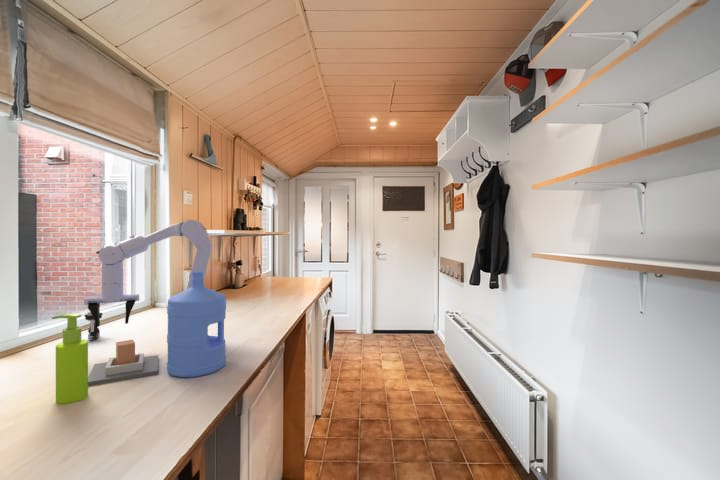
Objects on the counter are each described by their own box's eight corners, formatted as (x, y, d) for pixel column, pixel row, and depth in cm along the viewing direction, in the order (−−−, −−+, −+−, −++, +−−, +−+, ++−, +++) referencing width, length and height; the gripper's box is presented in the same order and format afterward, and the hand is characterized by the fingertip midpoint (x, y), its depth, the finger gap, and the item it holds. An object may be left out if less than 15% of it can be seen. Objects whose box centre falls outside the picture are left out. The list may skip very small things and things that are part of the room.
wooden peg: (132, 363, 100) (132, 339, 100) (134, 367, 97) (134, 342, 97) (116, 366, 98) (116, 342, 98) (117, 370, 95) (117, 345, 95)
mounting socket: (158, 358, 107) (158, 348, 107) (157, 374, 95) (157, 363, 95) (94, 367, 99) (94, 357, 99) (85, 386, 87) (85, 374, 87)
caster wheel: (98, 340, 123) (99, 313, 123) (80, 342, 121) (80, 314, 121) (104, 335, 130) (104, 309, 129) (87, 337, 127) (87, 310, 127)
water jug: (164, 382, 90) (164, 277, 90) (169, 362, 104) (169, 271, 104) (227, 373, 97) (228, 274, 96) (223, 355, 111) (224, 269, 110)
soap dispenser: (64, 392, 84) (63, 311, 83) (93, 391, 84) (93, 311, 84) (44, 404, 78) (43, 317, 78) (76, 403, 78) (76, 317, 78)
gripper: (139, 280, 118) (139, 319, 118) (86, 282, 111) (86, 324, 111) (138, 282, 112) (138, 323, 112) (82, 285, 105) (82, 329, 105)
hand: (112, 324), depth 111 cm, fingers open, 7 cm apart
